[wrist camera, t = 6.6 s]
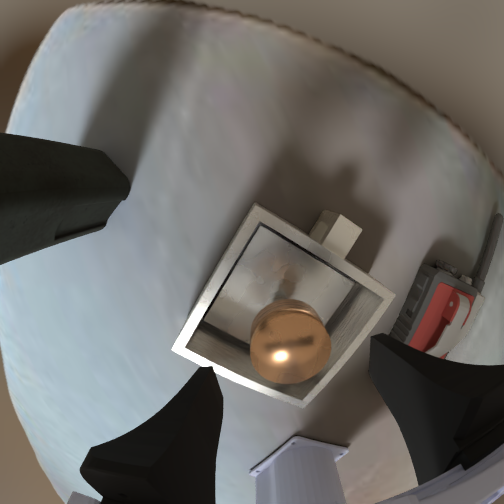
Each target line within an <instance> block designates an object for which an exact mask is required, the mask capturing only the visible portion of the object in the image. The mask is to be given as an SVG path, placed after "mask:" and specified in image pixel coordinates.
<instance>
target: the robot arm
mask: <svg viewBox="0 0 504 504" xmlns="http://www.w3.org/2000/svg"><path fill="white" fill-rule="evenodd" d="M369 372H370V374H371V376H372V379H373V381H374V384H375V386H376V388H377V390H378V391H379V393H380V395H381V396H382V398H383V400H384V401H385V403H386V405H387V406H388V408H389V409H390V411H391V413H392V414H393V416H394V418H395V419H396V421H397V423H398V425H399V427H400V430H401V432H402V435H403V437H404V440H405V442H406V445H407V448H408V450H409V453H410V456H411V459H412V463H413V466H414V469H415V473H416V477H417V481H418V485H419V486H418V487H416V488H413V489H411V490H409V491H406V492H404V493H402V494H399V495H397V496H394V497H392V498H389V499H386V500H384V501H381V502H378V503H375V504H491V503H492V502H494V501H495V500H496V499H497V498H499V497H500V496H501V495H502V494H504V365H490V366H489V365H472V364H464V363H458V362H453V361H449V360H446V359H442V358H438V357H435V356H432V355H430V354H427V353H425V352H422V351H420V350H417V349H415V348H413V347H411V346H409V345H406V344H404V343H402V342H400V341H398V340H396V339H394V338H392V337H390V336H388V335H386V334H383V333H381V334H378V335H374V336H371V340H370V365H369ZM222 419H223V395H222V392H221V389H220V386H219V383H218V380H217V377H216V374H215V371H214V368H213V366H204V367H199V368H198V370H197V371H196V372H195V373H194V374H193V376H192V377H191V378H190V379H189V380H188V382H187V383H186V384H185V385H184V386H183V388H182V389H181V390H180V391H179V392H178V393H177V394H176V395H175V396H174V397H173V398H172V399H171V400H170V401H169V402H168V403H167V404H166V405H165V406H164V407H163V408H162V409H161V410H160V411H159V412H157V413H156V414H155V415H154V416H152V417H151V418H150V419H148V420H147V421H146V422H144V423H142V424H141V425H139V426H138V427H136V428H135V429H133V430H131V431H130V432H128V433H126V434H124V435H122V436H120V437H118V438H116V439H113V440H111V441H108V442H106V443H103V444H100V445H97V446H94V447H91V449H90V450H89V452H88V454H87V456H86V458H85V460H84V461H83V463H82V465H81V467H80V473H81V475H82V477H83V478H84V479H85V480H86V482H87V483H88V484H90V485H91V486H92V487H93V488H94V489H95V490H96V491H97V492H98V493H99V494H100V495H102V496H103V498H102V501H101V502H100V501H98V500H96V499H94V498H92V497H89V496H86V495H83V494H80V493H77V492H72V494H71V496H70V499H69V501H68V503H67V504H215V471H216V456H217V449H218V443H219V437H220V432H221V426H222ZM348 451H349V450H348V448H347V447H342V446H337V445H332V444H327V443H323V442H319V441H315V440H311V439H307V438H303V437H300V436H295V437H293V438H291V439H290V440H289V441H288V442H287V443H286V444H284V445H283V446H282V447H281V448H280V449H278V450H277V451H276V452H275V453H273V454H272V455H271V456H270V457H268V458H267V459H266V460H265V461H263V462H262V463H261V464H259V465H258V466H257V467H255V468H254V469H253V470H251V471H250V472H249V475H250V476H253V477H256V504H346V500H345V496H344V492H343V489H342V485H341V481H340V478H339V474H338V470H337V467H336V463H335V462H336V461H337V460H338V459H340V458H341V457H342V456H344V455H345V454H346V453H347V452H348Z"/></svg>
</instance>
